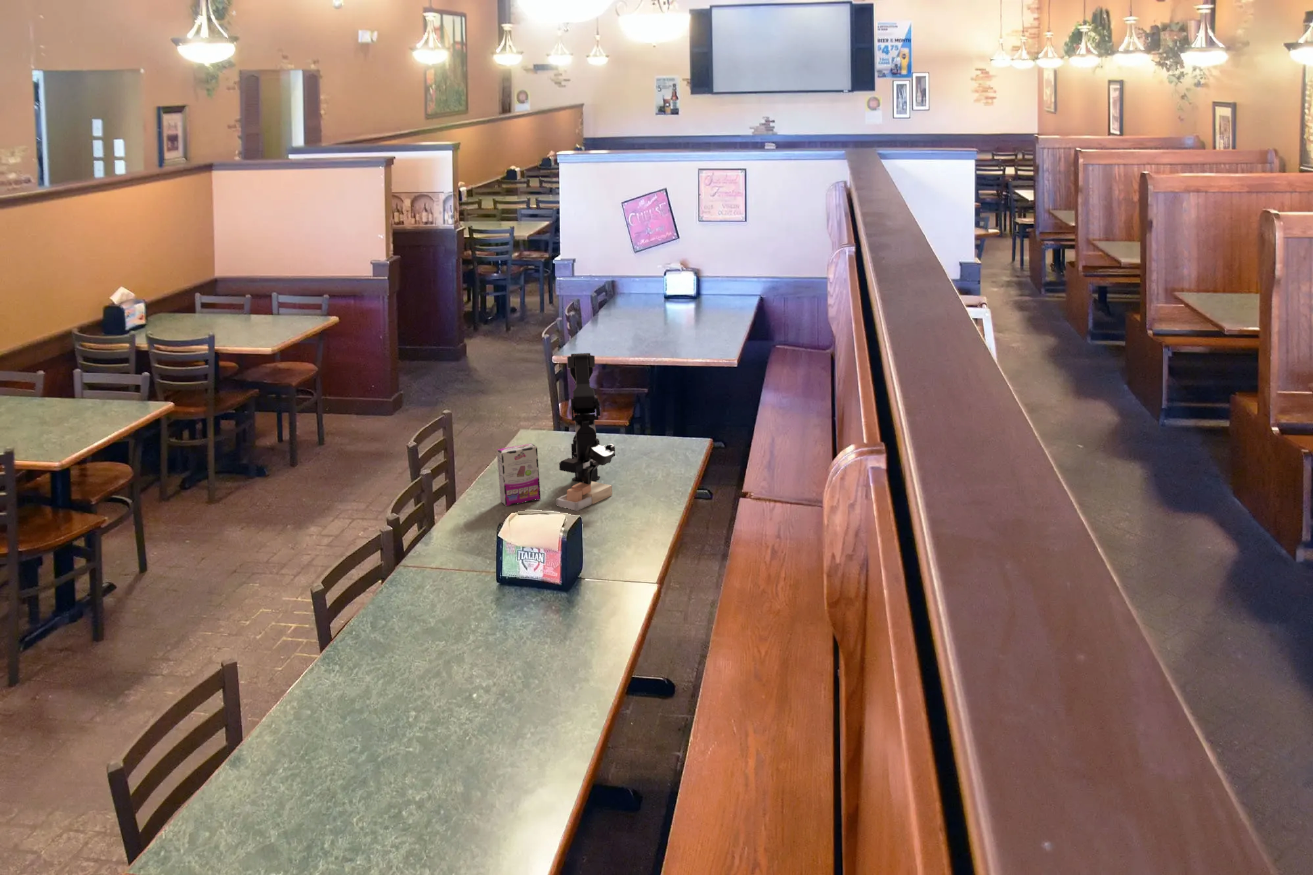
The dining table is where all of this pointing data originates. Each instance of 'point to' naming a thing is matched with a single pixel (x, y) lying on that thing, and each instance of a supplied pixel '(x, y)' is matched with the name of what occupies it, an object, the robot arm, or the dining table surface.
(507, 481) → the candy bar box
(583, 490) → the tile rear
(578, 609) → the dining table surface
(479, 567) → the dining table surface
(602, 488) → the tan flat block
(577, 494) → the tile front
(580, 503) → the tray
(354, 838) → the dining table surface
